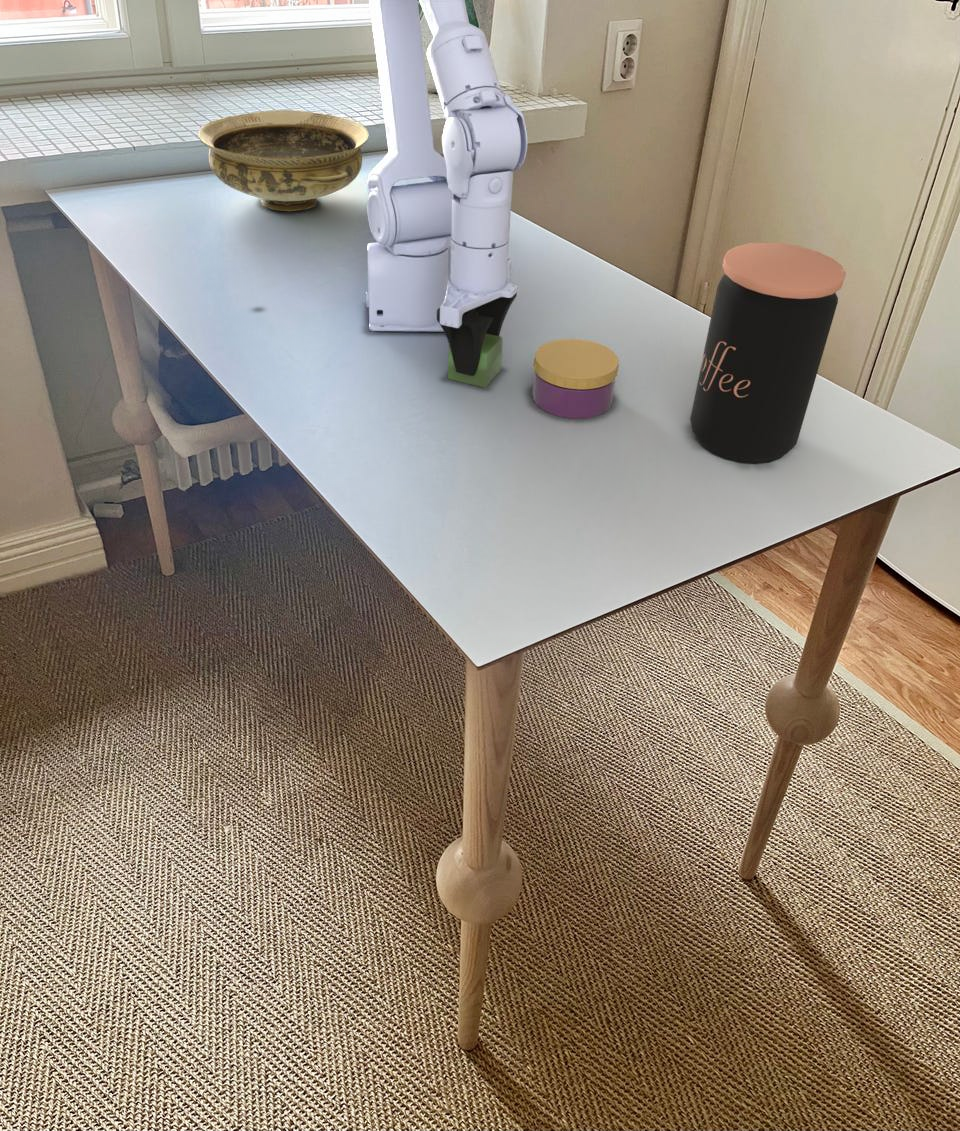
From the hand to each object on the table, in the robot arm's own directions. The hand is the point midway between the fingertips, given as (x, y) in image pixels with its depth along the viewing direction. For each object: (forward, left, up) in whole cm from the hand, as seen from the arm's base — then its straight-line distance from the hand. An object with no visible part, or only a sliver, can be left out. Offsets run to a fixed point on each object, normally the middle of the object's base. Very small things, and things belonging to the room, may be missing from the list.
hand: (474, 363), depth 105 cm
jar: (+10, -5, -1) cm, 11 cm away
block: (0, 0, -1) cm, 1 cm away
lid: (+10, -5, +3) cm, 12 cm away
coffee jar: (+26, -13, -2) cm, 29 cm away
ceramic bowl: (-24, +53, -2) cm, 58 cm away
